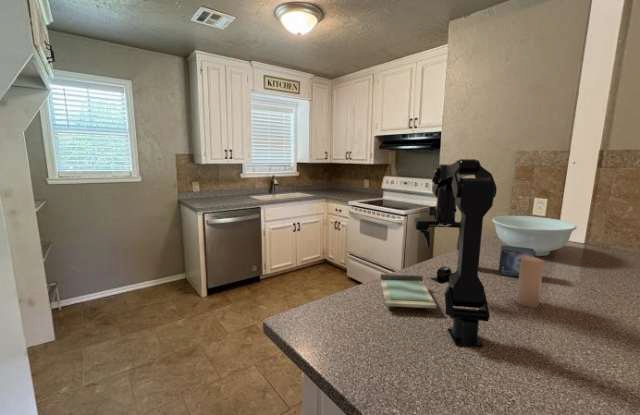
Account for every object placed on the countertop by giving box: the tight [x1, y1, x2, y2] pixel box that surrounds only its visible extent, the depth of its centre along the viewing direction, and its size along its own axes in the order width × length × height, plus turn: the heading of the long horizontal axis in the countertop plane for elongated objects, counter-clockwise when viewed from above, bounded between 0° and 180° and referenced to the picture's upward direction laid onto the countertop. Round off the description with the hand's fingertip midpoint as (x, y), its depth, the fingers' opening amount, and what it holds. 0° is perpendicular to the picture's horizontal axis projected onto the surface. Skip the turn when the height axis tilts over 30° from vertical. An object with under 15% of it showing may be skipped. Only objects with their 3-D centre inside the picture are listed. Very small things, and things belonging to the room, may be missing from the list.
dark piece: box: [429, 266, 452, 285], centre depth 110 cm, size 12×7×5 cm, turn 117°
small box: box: [498, 244, 537, 279], centre depth 112 cm, size 11×6×10 cm, turn 62°
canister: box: [516, 256, 545, 308], centre depth 90 cm, size 6×6×14 cm
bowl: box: [491, 215, 578, 257], centre depth 140 cm, size 32×32×15 cm
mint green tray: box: [380, 273, 437, 313], centre depth 94 cm, size 18×14×4 cm
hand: (442, 249), depth 99 cm, fingers open, 9 cm apart
